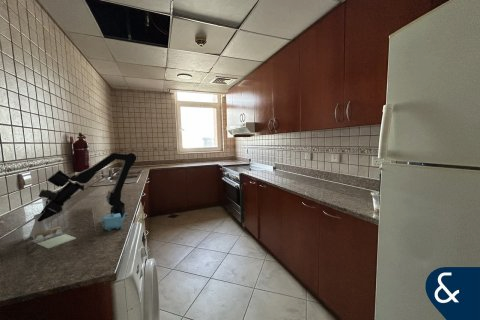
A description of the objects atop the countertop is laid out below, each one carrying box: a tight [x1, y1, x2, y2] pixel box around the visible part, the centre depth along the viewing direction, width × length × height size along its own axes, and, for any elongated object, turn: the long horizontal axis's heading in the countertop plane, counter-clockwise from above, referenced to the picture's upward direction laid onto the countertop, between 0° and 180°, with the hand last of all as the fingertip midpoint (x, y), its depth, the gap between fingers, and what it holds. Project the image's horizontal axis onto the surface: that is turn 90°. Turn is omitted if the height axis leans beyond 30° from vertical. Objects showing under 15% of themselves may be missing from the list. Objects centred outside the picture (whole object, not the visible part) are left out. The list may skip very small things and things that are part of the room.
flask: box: [29, 213, 50, 239], centre depth 98 cm, size 7×7×10 cm
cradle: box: [31, 228, 65, 244], centre depth 94 cm, size 10×4×3 cm, turn 153°
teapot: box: [100, 212, 128, 232], centre depth 104 cm, size 12×6×8 cm, turn 125°
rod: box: [34, 225, 62, 237], centre depth 94 cm, size 9×2×2 cm, turn 153°
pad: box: [36, 233, 77, 250], centre depth 91 cm, size 10×10×1 cm
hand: (38, 218), depth 98 cm, fingers open, 9 cm apart
